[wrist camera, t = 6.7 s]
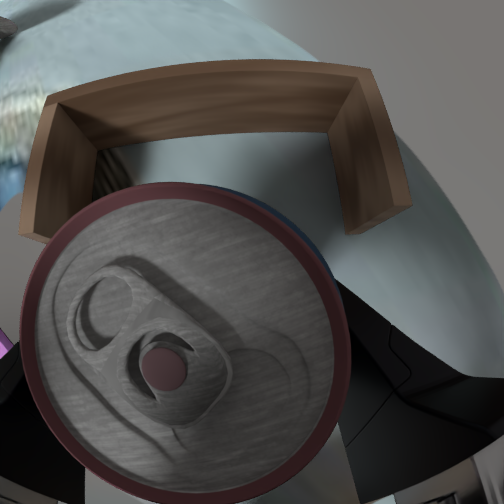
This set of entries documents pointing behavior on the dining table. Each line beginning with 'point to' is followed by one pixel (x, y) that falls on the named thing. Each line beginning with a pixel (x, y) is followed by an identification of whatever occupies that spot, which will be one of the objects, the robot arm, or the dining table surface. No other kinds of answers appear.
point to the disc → (7, 28)
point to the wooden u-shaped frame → (216, 130)
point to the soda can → (186, 343)
